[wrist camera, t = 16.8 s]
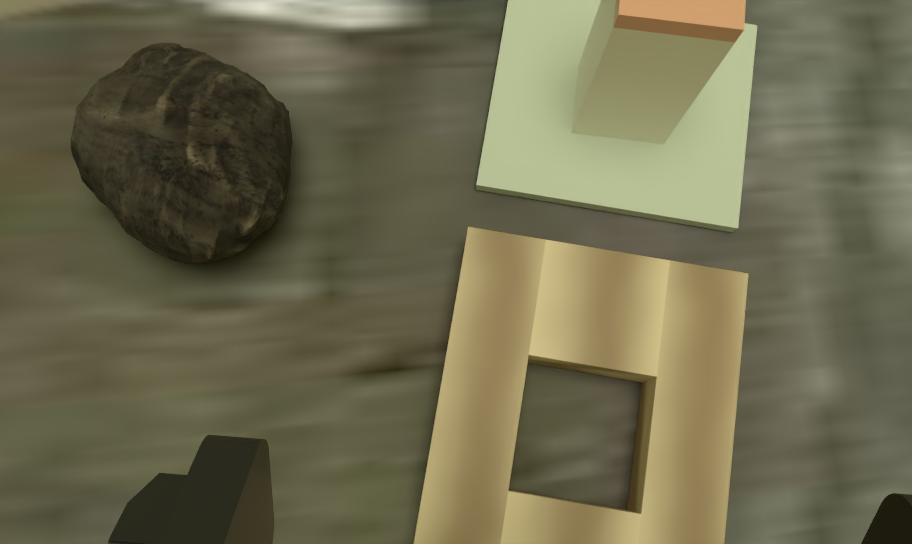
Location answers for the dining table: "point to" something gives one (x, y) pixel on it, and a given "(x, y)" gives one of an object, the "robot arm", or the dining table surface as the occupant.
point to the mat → (602, 158)
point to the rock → (185, 152)
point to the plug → (650, 64)
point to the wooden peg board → (596, 352)
